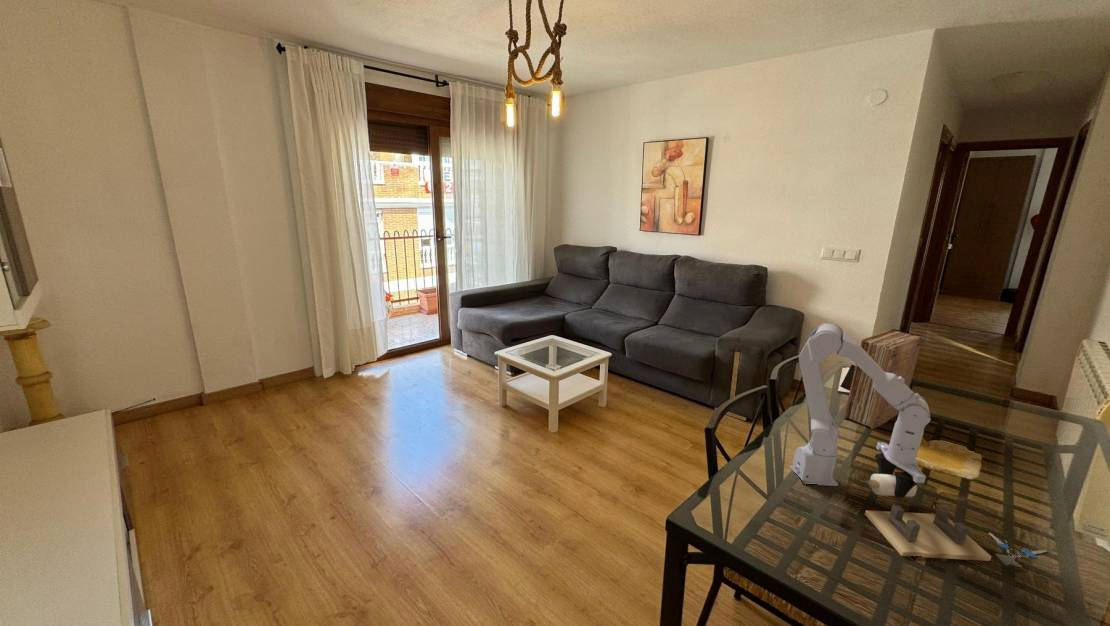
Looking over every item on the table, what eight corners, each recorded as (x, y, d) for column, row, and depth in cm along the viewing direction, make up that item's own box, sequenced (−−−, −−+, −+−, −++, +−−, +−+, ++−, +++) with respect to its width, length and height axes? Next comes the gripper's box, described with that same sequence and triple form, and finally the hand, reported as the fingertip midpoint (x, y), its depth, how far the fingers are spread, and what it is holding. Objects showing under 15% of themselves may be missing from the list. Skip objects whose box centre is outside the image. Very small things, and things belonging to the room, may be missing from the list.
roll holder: (901, 555, 98) (907, 535, 96) (864, 514, 110) (869, 495, 109) (989, 560, 97) (997, 540, 96) (942, 518, 110) (948, 499, 108)
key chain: (1016, 573, 95) (1017, 570, 94) (969, 545, 102) (970, 542, 102) (1047, 553, 100) (1048, 550, 100) (1000, 528, 107) (1001, 525, 107)
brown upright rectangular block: (871, 430, 150) (892, 347, 142) (842, 418, 157) (861, 339, 149) (903, 412, 164) (923, 335, 155) (875, 401, 171) (893, 328, 163)
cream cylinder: (875, 499, 112) (880, 481, 111) (862, 485, 117) (866, 469, 116) (919, 501, 112) (924, 484, 111) (904, 488, 117) (909, 471, 116)
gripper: (944, 461, 103) (928, 509, 107) (900, 428, 117) (888, 472, 121) (913, 459, 104) (899, 507, 108) (873, 427, 118) (862, 470, 121)
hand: (891, 488), depth 114 cm, fingers closed on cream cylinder, 5 cm apart
